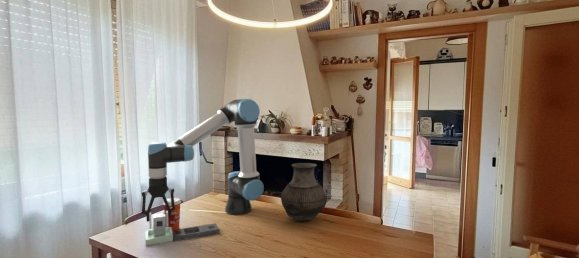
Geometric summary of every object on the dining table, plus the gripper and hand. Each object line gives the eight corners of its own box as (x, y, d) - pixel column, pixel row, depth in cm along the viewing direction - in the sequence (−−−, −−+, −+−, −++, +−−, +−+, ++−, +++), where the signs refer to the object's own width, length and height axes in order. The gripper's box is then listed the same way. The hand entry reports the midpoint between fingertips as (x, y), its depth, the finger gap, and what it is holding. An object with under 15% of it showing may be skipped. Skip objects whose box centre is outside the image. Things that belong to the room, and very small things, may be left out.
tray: (171, 231, 140) (171, 226, 140) (173, 240, 130) (172, 235, 130) (145, 235, 135) (145, 230, 135) (145, 245, 125) (145, 239, 125)
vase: (321, 231, 141) (321, 170, 139) (273, 225, 149) (274, 167, 147) (330, 214, 165) (331, 162, 163) (289, 209, 172) (289, 159, 170)
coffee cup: (175, 234, 138) (174, 203, 137) (159, 232, 139) (159, 201, 138) (184, 227, 146) (184, 197, 145) (170, 225, 147) (169, 196, 147)
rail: (215, 227, 146) (215, 223, 146) (219, 233, 138) (219, 228, 138) (173, 234, 137) (172, 229, 137) (174, 241, 130) (174, 236, 130)
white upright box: (165, 233, 136) (165, 212, 135) (165, 238, 131) (165, 216, 131) (153, 235, 134) (153, 214, 133) (153, 239, 129) (153, 217, 129)
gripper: (179, 173, 138) (180, 220, 140) (134, 176, 130) (135, 227, 131) (181, 176, 132) (182, 226, 133) (133, 180, 123) (134, 233, 125)
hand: (159, 226), depth 132 cm, fingers open, 6 cm apart
